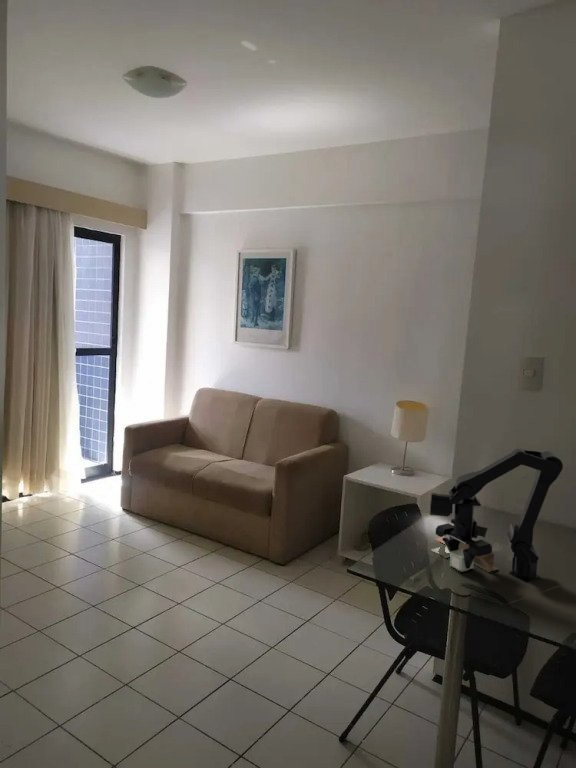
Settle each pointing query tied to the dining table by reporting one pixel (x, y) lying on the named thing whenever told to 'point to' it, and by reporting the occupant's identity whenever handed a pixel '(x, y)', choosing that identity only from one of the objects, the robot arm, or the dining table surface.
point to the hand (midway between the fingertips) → (461, 564)
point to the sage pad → (438, 550)
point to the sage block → (458, 559)
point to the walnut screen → (482, 559)
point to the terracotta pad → (440, 540)
